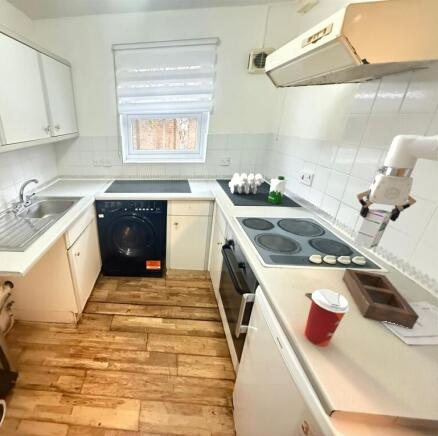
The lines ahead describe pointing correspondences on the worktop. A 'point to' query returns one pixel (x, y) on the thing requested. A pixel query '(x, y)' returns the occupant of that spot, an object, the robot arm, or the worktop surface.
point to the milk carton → (276, 190)
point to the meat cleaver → (309, 295)
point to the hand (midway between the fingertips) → (377, 218)
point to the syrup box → (372, 228)
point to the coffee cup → (324, 316)
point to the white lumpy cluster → (246, 182)
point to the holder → (379, 298)
